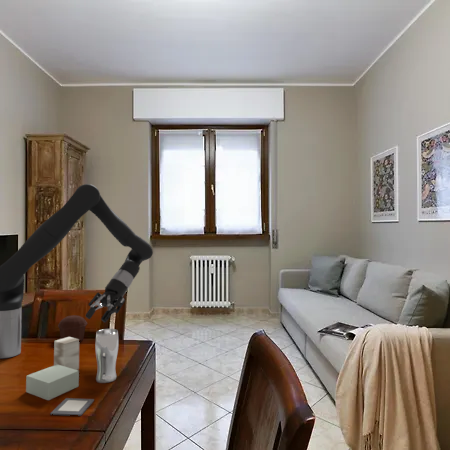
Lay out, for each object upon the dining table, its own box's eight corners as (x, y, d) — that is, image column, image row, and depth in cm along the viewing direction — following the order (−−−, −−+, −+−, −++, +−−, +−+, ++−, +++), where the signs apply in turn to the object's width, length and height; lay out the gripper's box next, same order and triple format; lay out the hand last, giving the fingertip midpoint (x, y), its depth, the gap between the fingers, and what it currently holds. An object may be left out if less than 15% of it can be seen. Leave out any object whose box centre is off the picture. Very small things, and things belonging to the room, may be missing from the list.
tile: (50, 414, 90) (50, 412, 90) (65, 399, 98) (65, 397, 98) (81, 415, 89) (81, 413, 89) (94, 400, 97) (94, 398, 97)
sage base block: (26, 393, 102) (26, 375, 102) (56, 380, 111) (57, 364, 111) (48, 401, 97) (48, 383, 97) (78, 387, 106) (78, 370, 106)
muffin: (51, 342, 146) (51, 318, 146) (69, 334, 157) (69, 312, 157) (76, 345, 143) (76, 320, 143) (92, 337, 154) (93, 314, 154)
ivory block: (53, 370, 117) (54, 340, 117) (68, 365, 122) (69, 336, 122) (64, 374, 114) (64, 343, 115) (78, 368, 119) (79, 339, 119)
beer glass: (122, 376, 114) (123, 329, 114) (108, 385, 107) (109, 335, 107) (104, 373, 116) (105, 327, 116) (89, 381, 109) (90, 333, 110)
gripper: (102, 276, 140) (76, 311, 130) (127, 279, 132) (102, 316, 122) (112, 288, 144) (88, 322, 134) (137, 291, 137) (114, 328, 127)
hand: (95, 319), depth 128 cm, fingers open, 8 cm apart
